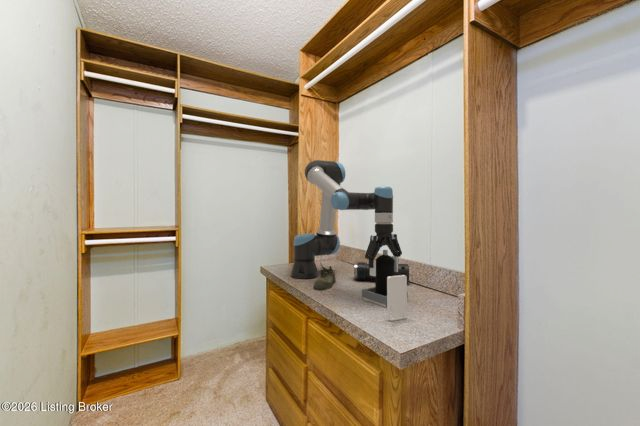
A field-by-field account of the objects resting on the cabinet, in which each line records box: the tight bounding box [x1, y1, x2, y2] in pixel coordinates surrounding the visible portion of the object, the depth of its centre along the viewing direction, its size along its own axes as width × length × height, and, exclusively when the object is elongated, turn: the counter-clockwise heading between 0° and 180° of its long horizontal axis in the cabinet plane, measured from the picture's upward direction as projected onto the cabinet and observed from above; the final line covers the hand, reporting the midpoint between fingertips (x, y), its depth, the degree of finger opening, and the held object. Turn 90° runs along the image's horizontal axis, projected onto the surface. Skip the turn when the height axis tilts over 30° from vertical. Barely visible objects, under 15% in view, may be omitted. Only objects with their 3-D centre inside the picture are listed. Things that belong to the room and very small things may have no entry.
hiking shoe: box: [313, 262, 337, 291], centre depth 142 cm, size 8×20×12 cm, turn 159°
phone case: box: [386, 275, 408, 322], centre depth 98 cm, size 7×1×15 cm, turn 111°
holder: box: [361, 286, 409, 309], centre depth 120 cm, size 13×13×4 cm
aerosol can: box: [374, 249, 395, 296], centre depth 120 cm, size 8×8×20 cm
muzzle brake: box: [353, 261, 410, 284], centre depth 150 cm, size 10×28×10 cm, turn 78°
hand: (384, 273), depth 119 cm, fingers open, 13 cm apart
